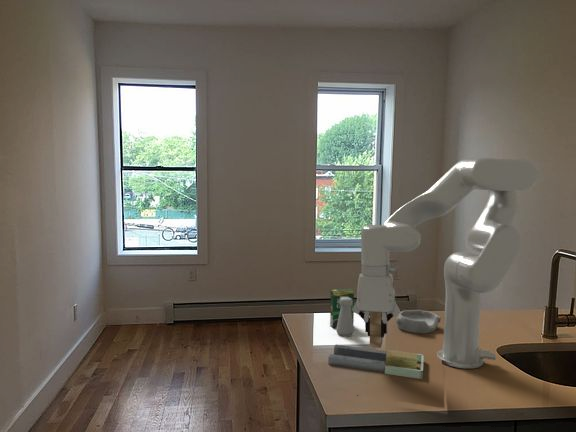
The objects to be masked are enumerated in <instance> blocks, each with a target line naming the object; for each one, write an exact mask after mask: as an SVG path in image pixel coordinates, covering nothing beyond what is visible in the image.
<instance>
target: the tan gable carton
mask: <svg viewBox="0 0 576 432" xmlns="http://www.w3.org/2000/svg"><path fill="white" fill-rule="evenodd" d="M381 322H382V312H370V337H369V348H379V349H380V348H382V345H383V342H384V341H383V339H384V338H382V337H381Z"/></svg>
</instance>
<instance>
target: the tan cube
mask: <svg viewBox="0 0 576 432" xmlns="http://www.w3.org/2000/svg"><path fill="white" fill-rule="evenodd" d="M386 351H387V354H386V364H385V365H387V366H394V367H401V357H402V352H403V351H400V352H399V351H398V350H390V349H387V350H386Z"/></svg>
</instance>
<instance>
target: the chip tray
mask: <svg viewBox="0 0 576 432" xmlns="http://www.w3.org/2000/svg"><path fill="white" fill-rule="evenodd" d="M399 352H401V351H399ZM416 354H417V363H418V362H419V363H420V369H417V370H416V369H409V368H401V367H394V366H387V365H386V364H385V368H384V374H385V375H391V376H399V377H406V378H412V379H421V380H423V376H424V356H425V355H424V354H423V353H422V354H421V353H416Z"/></svg>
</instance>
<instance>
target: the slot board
mask: <svg viewBox="0 0 576 432" xmlns="http://www.w3.org/2000/svg"><path fill="white" fill-rule="evenodd" d="M333 348H334V349H333V353H332V354H331V353H330V354H329V355H328V358H327V359H328V362H327V364H328V365H333V366H339V367H346V368H354V369H358V370H359V369H360V370H367V371H373V372H382V373H385V365H386V354H387V351H388V350H382V349H373V348H367V347H359V346H358V347H356V346H352V345H351V346H350V345H345V344H344V345H342V344H335V345H334V346H333Z"/></svg>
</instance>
